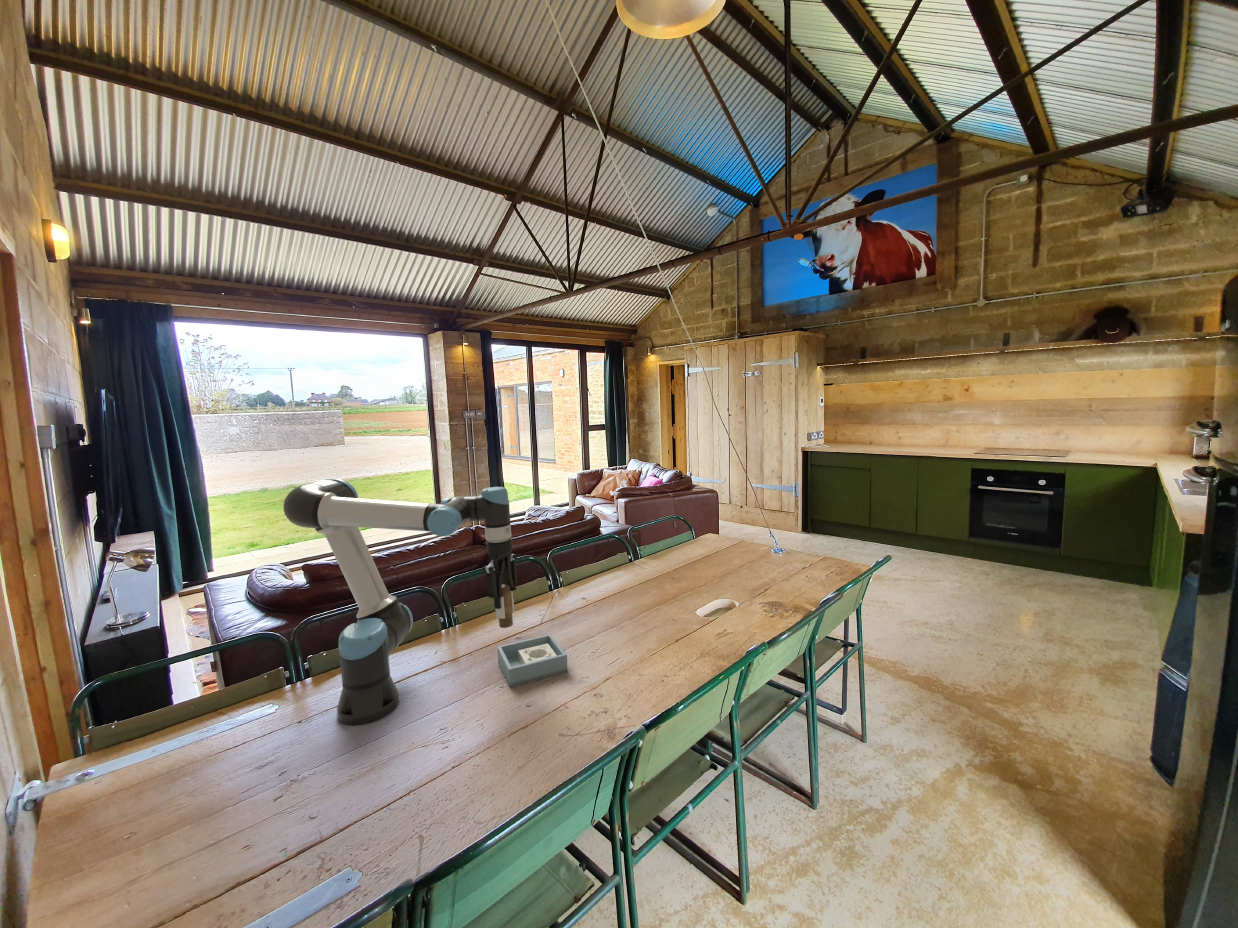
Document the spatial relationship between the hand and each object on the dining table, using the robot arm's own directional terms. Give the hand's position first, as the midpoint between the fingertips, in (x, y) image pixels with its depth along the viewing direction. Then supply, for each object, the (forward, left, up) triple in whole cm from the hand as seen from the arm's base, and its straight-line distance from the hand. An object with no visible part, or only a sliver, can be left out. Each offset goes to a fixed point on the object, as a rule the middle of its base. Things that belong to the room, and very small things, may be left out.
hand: (505, 614), depth 145 cm
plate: (+10, +2, -20) cm, 22 cm away
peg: (0, 0, -3) cm, 3 cm away
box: (+8, +2, -20) cm, 21 cm away
